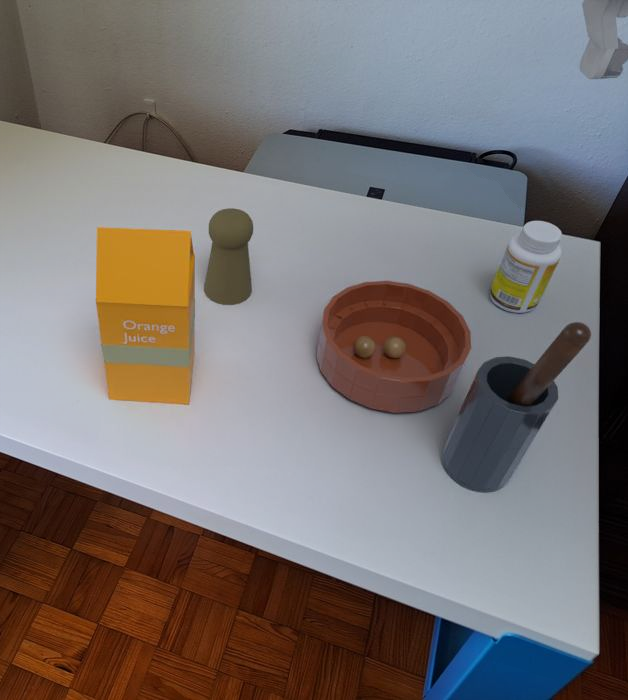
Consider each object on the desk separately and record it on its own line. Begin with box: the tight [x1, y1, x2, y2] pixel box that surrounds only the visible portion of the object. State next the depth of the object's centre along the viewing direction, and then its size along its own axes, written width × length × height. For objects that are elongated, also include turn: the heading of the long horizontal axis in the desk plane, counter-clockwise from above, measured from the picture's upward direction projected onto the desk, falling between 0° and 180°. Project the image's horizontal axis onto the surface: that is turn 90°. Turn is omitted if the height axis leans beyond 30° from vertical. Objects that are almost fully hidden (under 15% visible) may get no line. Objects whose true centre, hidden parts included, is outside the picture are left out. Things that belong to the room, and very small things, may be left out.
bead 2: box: [383, 337, 406, 358], centre depth 76 cm, size 2×2×2 cm
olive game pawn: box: [203, 207, 254, 306], centre depth 82 cm, size 6×6×11 cm
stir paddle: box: [505, 321, 592, 406], centre depth 58 cm, size 3×2×22 cm, turn 91°
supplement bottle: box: [489, 220, 563, 314], centre depth 79 cm, size 6×6×10 cm
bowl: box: [315, 280, 472, 414], centre depth 74 cm, size 15×15×6 cm
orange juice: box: [95, 226, 196, 406], centre depth 69 cm, size 8×9×20 cm
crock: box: [441, 356, 559, 493], centre depth 63 cm, size 6×6×12 cm
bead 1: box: [354, 336, 376, 358], centre depth 76 cm, size 2×2×2 cm
